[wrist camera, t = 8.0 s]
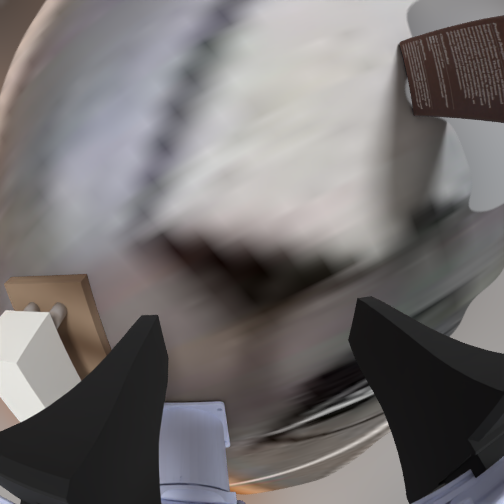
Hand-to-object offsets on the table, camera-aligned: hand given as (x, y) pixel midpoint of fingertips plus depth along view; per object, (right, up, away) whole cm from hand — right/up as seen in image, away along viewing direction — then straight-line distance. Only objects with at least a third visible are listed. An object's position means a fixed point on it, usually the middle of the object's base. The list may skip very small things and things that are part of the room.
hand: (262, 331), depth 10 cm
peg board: (-16, -5, +10) cm, 19 cm away
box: (+13, +16, +6) cm, 21 cm away
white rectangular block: (-16, -6, +7) cm, 18 cm away
